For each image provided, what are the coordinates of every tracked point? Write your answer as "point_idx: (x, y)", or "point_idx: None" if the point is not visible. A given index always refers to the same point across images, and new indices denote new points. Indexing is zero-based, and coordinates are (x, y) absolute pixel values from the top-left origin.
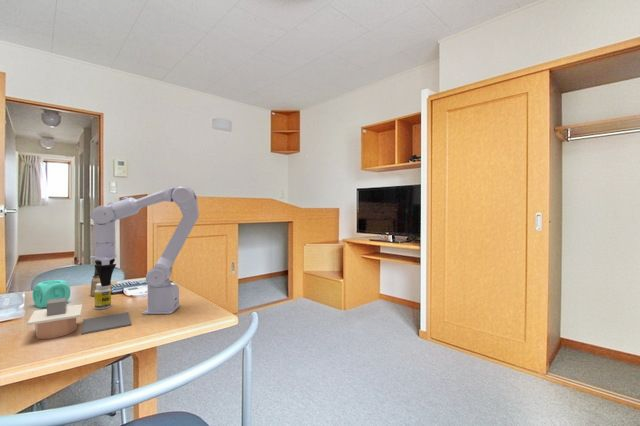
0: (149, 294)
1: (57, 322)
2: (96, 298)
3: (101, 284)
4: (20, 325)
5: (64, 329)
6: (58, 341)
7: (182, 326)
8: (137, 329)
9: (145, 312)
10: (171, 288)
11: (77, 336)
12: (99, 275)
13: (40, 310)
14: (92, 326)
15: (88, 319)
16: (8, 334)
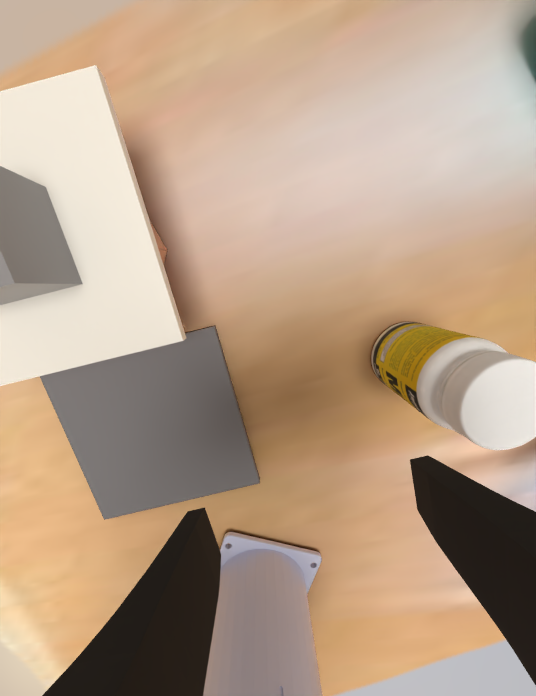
0: (221, 654)
1: None
2: (407, 347)
3: (179, 525)
4: (243, 26)
5: None
6: None
7: (60, 656)
8: (60, 539)
9: (231, 544)
10: None
11: None
12: (91, 643)
13: (93, 109)
14: (107, 390)
15: (207, 348)
16: (116, 27)
